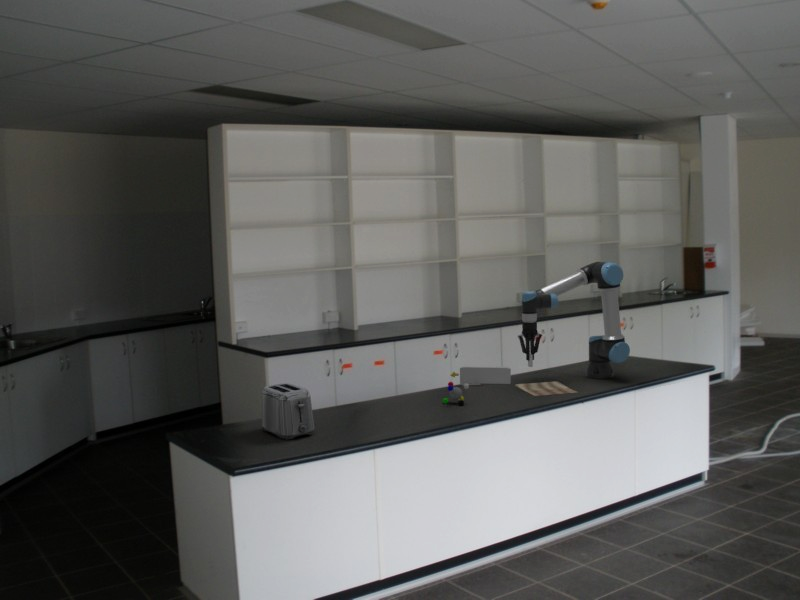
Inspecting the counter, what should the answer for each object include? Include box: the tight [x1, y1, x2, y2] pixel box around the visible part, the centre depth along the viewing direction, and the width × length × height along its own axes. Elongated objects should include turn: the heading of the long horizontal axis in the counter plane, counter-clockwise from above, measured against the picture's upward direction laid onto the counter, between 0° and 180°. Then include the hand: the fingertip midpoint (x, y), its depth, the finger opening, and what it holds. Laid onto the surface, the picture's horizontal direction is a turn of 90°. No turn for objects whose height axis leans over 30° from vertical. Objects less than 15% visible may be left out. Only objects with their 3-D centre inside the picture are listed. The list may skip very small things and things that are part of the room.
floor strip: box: [527, 387, 579, 397], centre depth 385 cm, size 24×10×1 cm, turn 104°
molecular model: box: [442, 381, 470, 407], centre depth 369 cm, size 11×13×10 cm
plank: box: [514, 380, 569, 393], centre depth 397 cm, size 24×14×1 cm, turn 104°
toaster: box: [261, 382, 316, 441], centre depth 324 cm, size 17×30×19 cm, turn 35°
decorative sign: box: [449, 365, 512, 387], centre depth 410 cm, size 32×4×10 cm, turn 79°
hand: (530, 366), depth 396 cm, fingers closed
